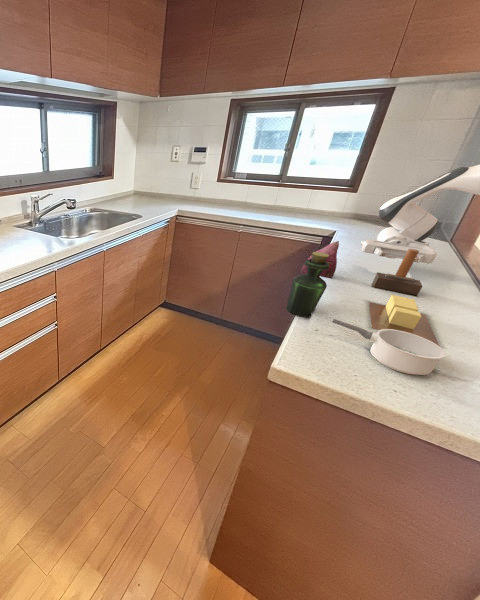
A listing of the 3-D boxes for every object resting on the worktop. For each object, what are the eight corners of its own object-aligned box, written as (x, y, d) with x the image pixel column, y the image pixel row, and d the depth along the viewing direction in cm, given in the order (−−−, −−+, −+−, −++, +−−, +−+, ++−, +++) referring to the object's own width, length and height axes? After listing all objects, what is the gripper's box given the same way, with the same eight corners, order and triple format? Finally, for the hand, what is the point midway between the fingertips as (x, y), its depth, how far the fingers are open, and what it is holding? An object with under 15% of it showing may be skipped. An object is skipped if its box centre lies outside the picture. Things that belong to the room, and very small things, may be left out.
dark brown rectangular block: (412, 293, 110) (419, 280, 107) (414, 300, 105) (422, 286, 103) (371, 285, 115) (377, 272, 113) (371, 290, 111) (378, 277, 109)
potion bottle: (315, 321, 91) (341, 261, 83) (282, 314, 94) (303, 255, 86) (313, 310, 97) (336, 252, 89) (282, 303, 101) (302, 247, 92)
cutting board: (423, 319, 94) (425, 314, 93) (436, 351, 79) (439, 346, 79) (366, 305, 101) (368, 301, 100) (369, 332, 86) (371, 328, 86)
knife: (405, 293, 109) (427, 251, 103) (406, 296, 108) (429, 253, 101) (378, 288, 113) (398, 246, 106) (379, 290, 111) (399, 248, 104)
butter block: (407, 311, 94) (414, 299, 93) (411, 322, 89) (418, 309, 87) (385, 306, 97) (391, 294, 95) (387, 316, 91) (394, 304, 90)
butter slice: (412, 325, 88) (419, 312, 86) (413, 329, 85) (421, 316, 84) (388, 319, 90) (395, 306, 88) (389, 323, 88) (396, 310, 86)
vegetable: (324, 280, 127) (349, 244, 121) (331, 286, 118) (359, 248, 112) (297, 268, 130) (320, 233, 123) (301, 274, 121) (327, 236, 114)
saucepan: (328, 329, 87) (336, 311, 85) (431, 362, 75) (444, 342, 73) (320, 347, 80) (328, 327, 77) (432, 386, 68) (447, 365, 65)
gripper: (364, 233, 128) (366, 242, 118) (434, 243, 118) (443, 255, 108) (357, 248, 131) (359, 259, 121) (425, 259, 121) (433, 272, 111)
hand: (399, 257), depth 114 cm, fingers open, 8 cm apart
